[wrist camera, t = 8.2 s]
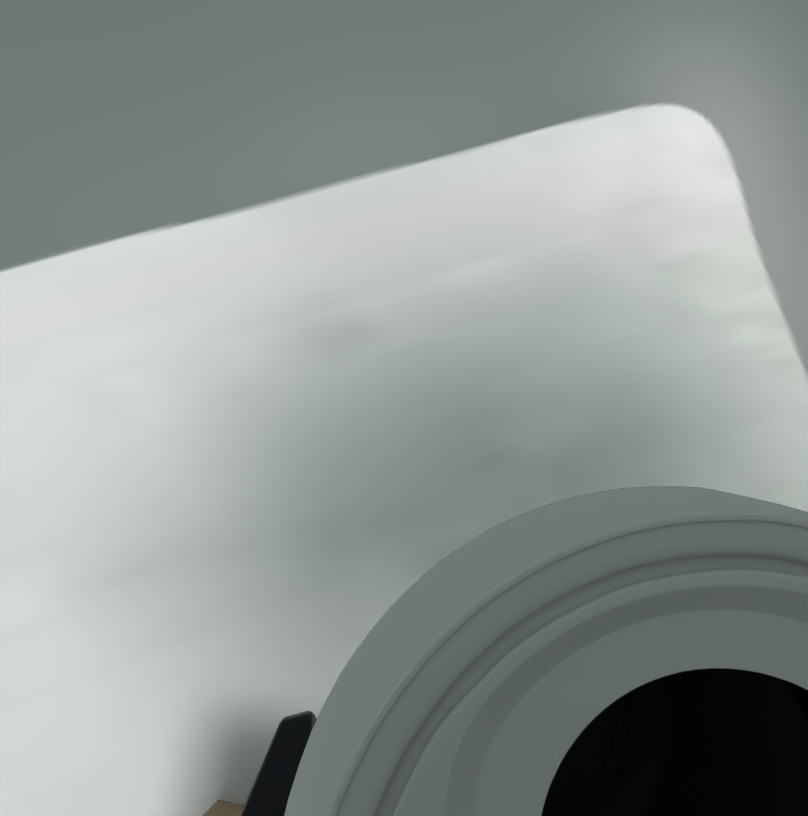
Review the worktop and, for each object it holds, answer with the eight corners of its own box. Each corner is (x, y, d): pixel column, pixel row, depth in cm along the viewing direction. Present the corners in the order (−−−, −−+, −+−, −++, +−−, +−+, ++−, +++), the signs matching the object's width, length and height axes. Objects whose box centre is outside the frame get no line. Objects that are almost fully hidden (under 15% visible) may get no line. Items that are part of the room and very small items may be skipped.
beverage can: (599, 522, 16) (1034, 334, 5) (708, 814, 15) (1817, 1657, 3) (340, 601, 16) (118, 609, 4) (420, 909, 14) (406, 2279, 3)
